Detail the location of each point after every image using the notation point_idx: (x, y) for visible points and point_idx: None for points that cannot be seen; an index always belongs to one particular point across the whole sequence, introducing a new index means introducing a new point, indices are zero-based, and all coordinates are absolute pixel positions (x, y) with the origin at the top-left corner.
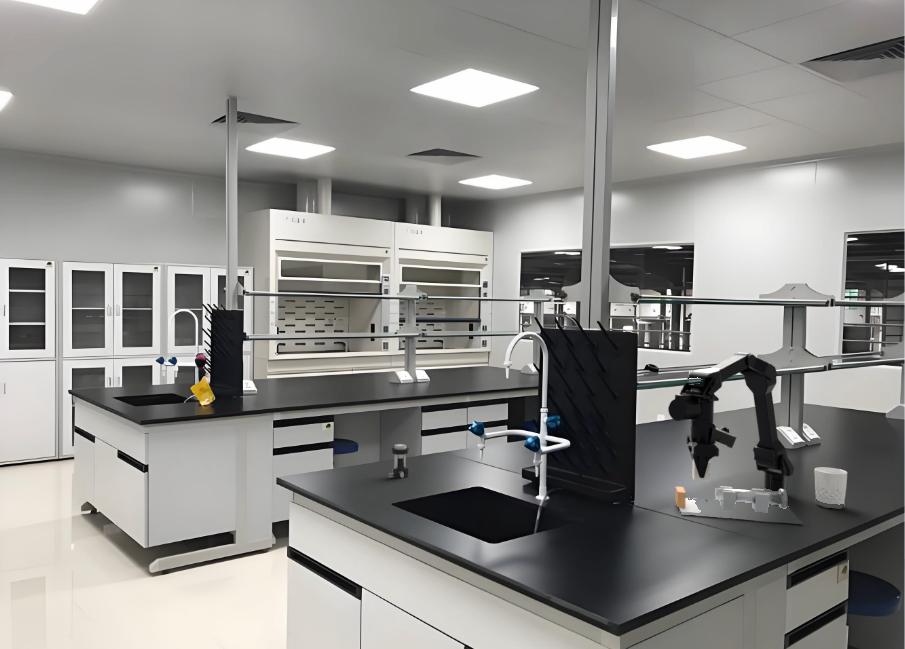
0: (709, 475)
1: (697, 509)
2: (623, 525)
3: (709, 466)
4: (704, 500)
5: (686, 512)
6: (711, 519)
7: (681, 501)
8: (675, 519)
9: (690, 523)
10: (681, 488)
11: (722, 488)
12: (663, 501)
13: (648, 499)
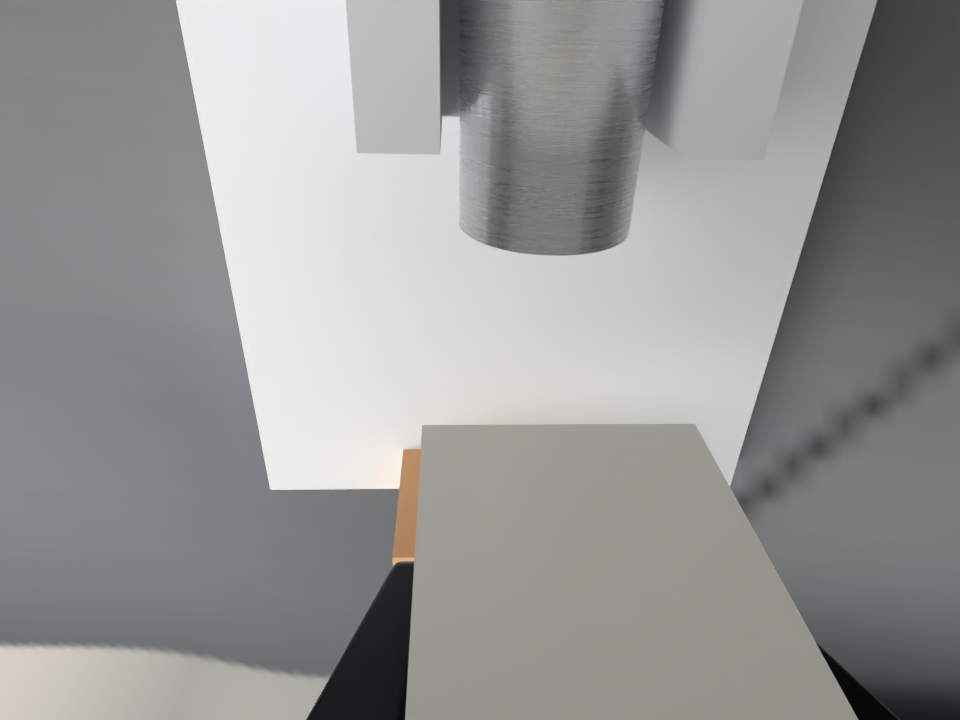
0: (738, 517)
1: (657, 362)
2: (927, 714)
3: (833, 709)
4: (114, 213)
5: (739, 447)
6: (831, 249)
7: None
8: (825, 502)
9: (931, 422)
10: None
11: (561, 147)
12: (342, 542)
13: (327, 618)
